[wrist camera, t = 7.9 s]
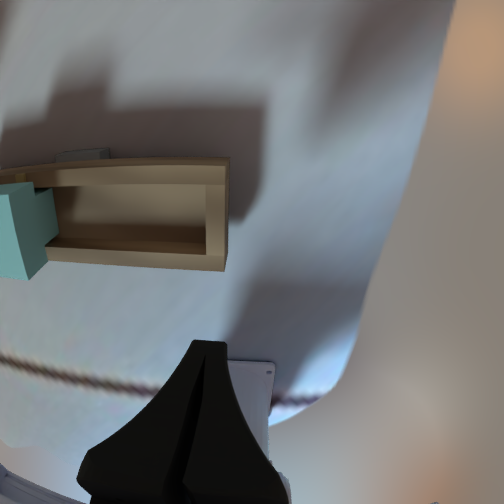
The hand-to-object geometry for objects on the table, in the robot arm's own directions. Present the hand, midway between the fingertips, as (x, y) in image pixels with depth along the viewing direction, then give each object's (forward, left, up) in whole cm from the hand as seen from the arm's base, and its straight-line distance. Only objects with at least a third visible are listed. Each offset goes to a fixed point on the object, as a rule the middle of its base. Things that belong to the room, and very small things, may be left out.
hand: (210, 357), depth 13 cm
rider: (+3, +14, -8) cm, 16 cm away
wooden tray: (+3, +10, -10) cm, 15 cm away
